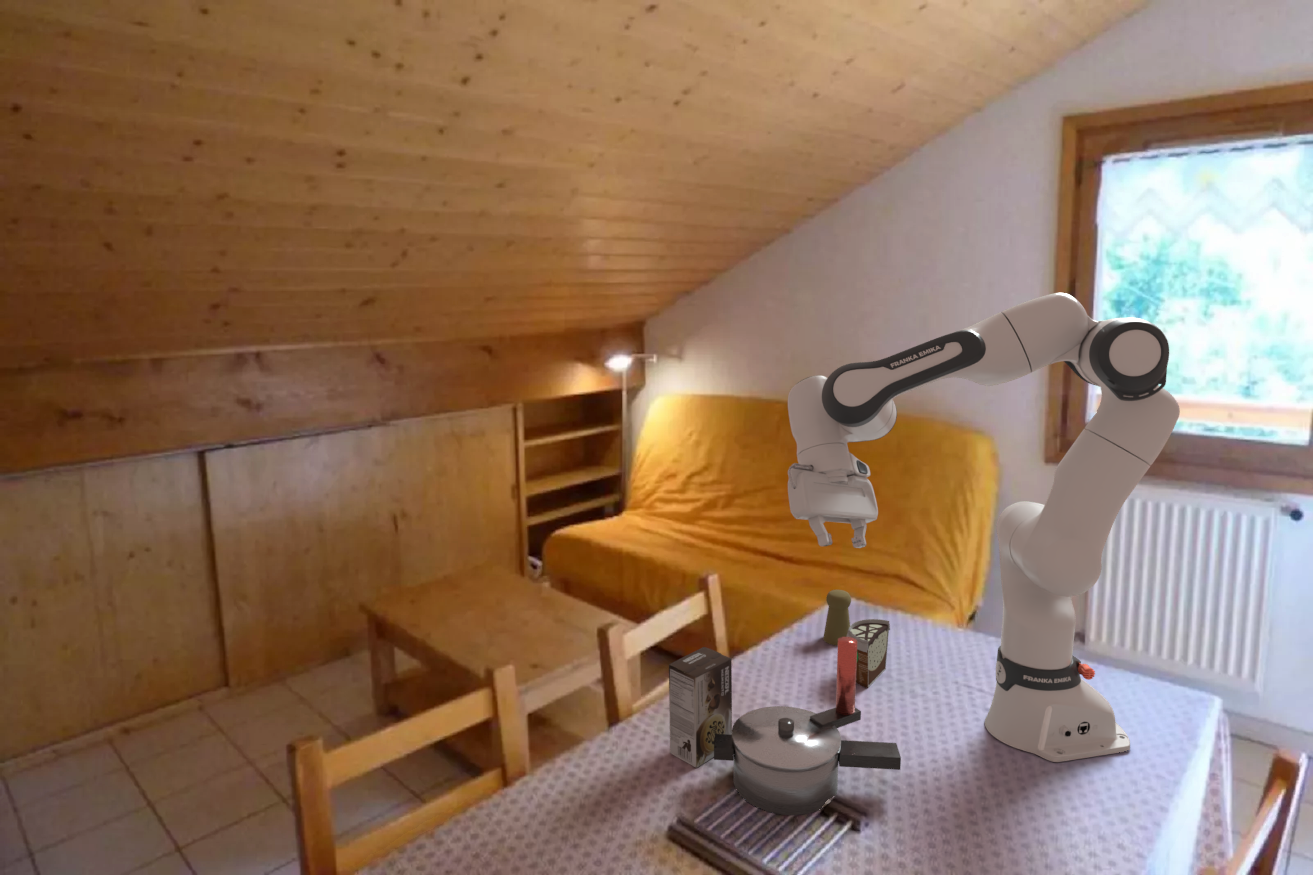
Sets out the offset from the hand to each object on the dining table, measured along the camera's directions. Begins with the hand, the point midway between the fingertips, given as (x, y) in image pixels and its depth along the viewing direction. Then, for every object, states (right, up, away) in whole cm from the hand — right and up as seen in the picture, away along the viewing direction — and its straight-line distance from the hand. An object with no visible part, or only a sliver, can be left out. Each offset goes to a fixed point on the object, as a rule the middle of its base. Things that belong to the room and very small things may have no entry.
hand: (843, 546), depth 137 cm
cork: (+8, -26, +42) cm, 50 cm away
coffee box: (-24, -34, +1) cm, 42 cm away
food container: (+10, -29, +26) cm, 40 cm away
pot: (-8, -36, -9) cm, 38 cm away
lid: (-9, -28, -8) cm, 31 cm away
